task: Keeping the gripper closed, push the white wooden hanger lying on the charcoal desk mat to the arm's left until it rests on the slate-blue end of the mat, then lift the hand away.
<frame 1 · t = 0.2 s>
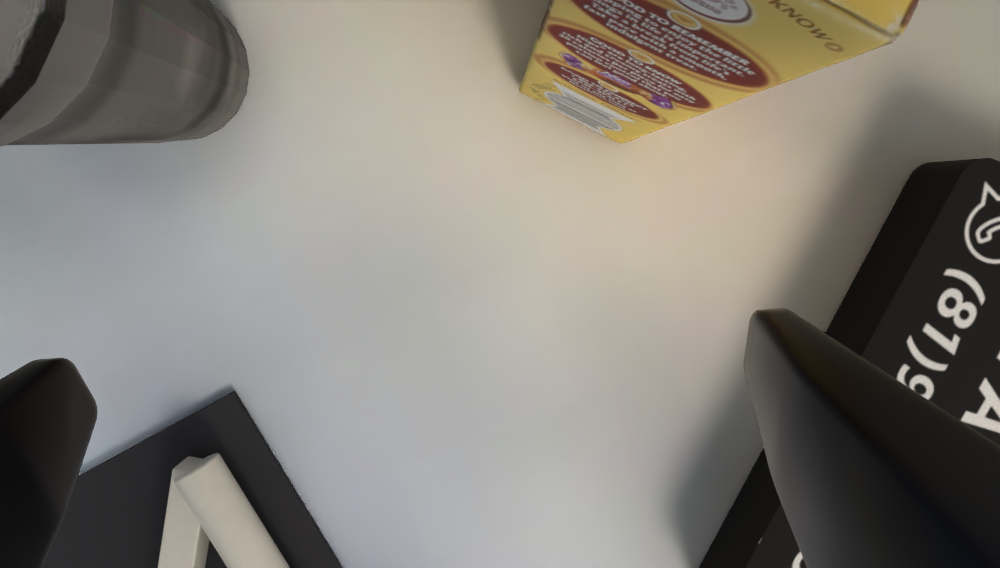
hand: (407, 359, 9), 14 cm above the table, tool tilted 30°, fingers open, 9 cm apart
beverage cup: (182, 70, 23), on the table
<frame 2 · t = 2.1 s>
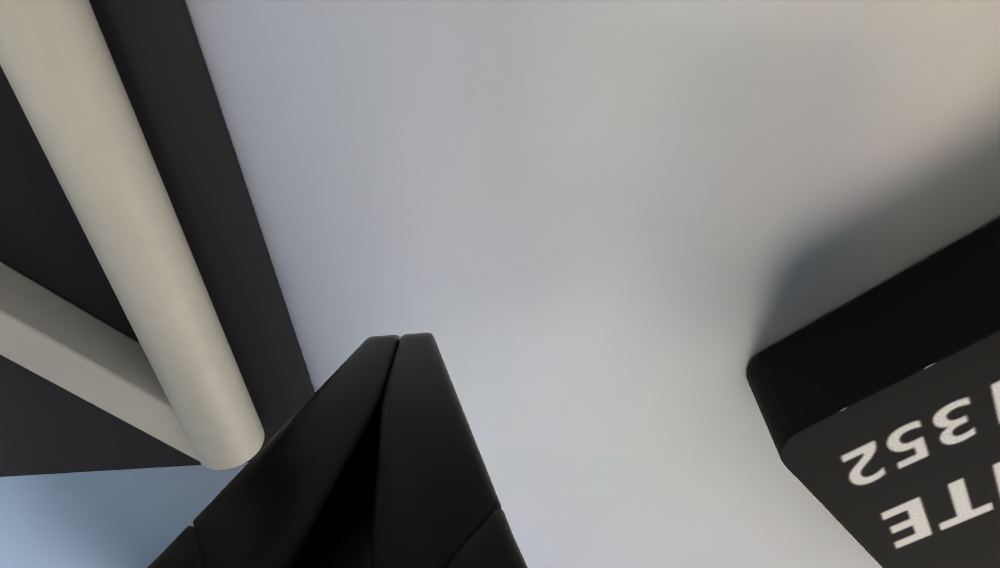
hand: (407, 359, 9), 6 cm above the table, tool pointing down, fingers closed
hanger: (26, 204, 14), resting on mat
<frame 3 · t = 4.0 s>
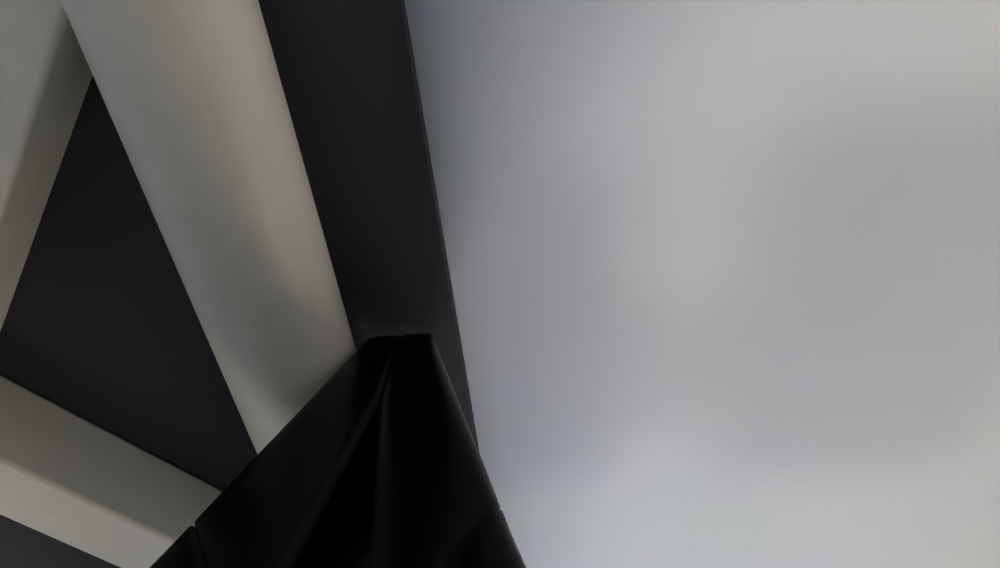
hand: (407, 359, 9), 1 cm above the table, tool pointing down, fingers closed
hanger: (139, 355, 10), resting on mat, touching gripper
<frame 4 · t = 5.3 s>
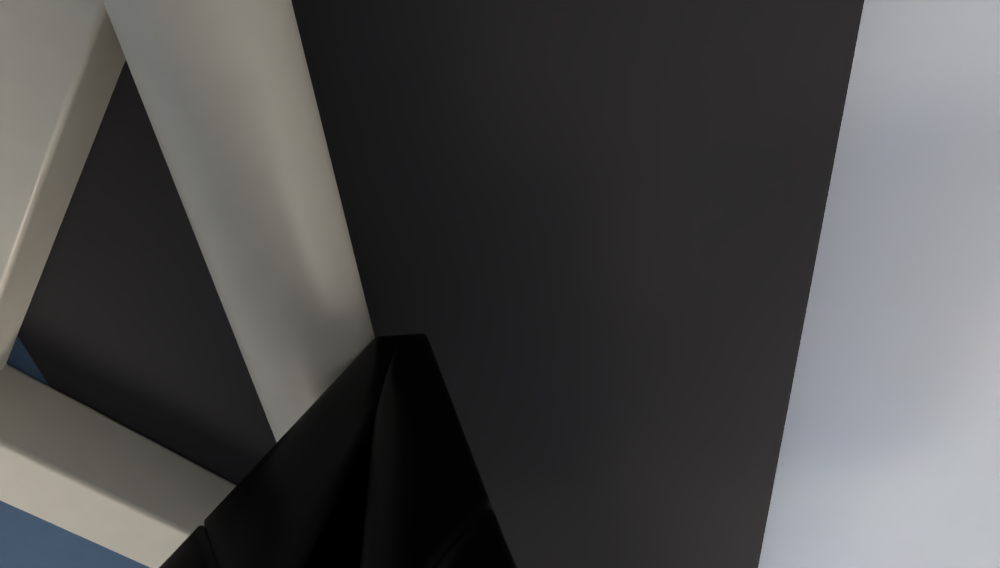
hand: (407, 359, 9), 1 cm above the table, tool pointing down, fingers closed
hanger: (158, 349, 10), resting on mat, touching gripper
mat: (110, 353, 10), on the table
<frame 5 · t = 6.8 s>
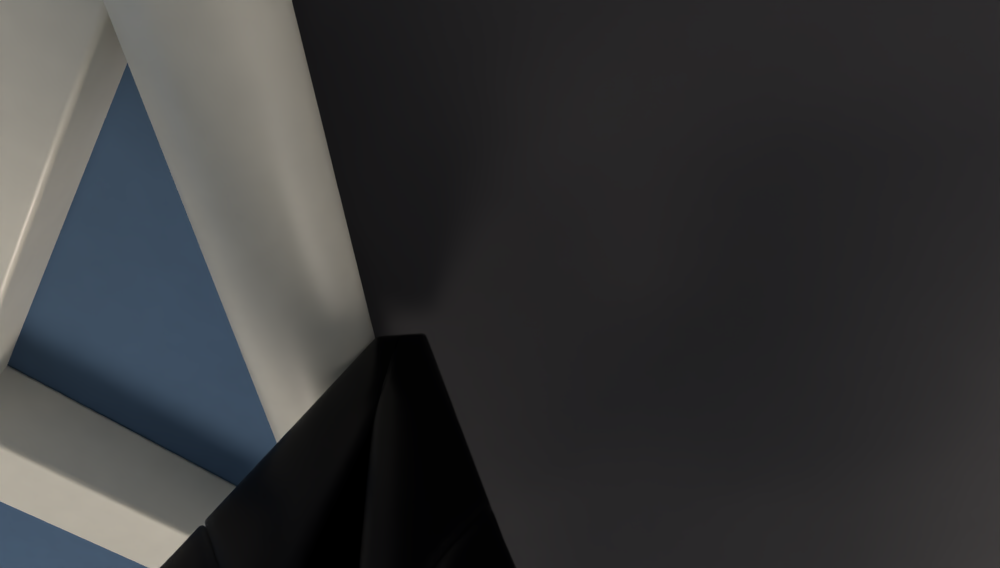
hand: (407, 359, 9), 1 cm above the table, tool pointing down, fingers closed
hanger: (159, 351, 10), resting on mat, touching gripper
mat: (425, 325, 10), on the table
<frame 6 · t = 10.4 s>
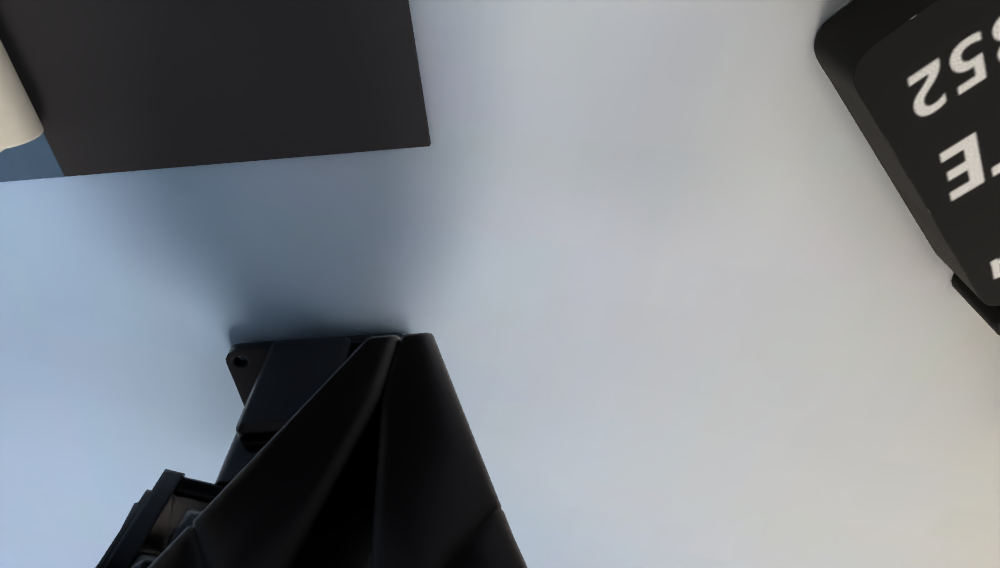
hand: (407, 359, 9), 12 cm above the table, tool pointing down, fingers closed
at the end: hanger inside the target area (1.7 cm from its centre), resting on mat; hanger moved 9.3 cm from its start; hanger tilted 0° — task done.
